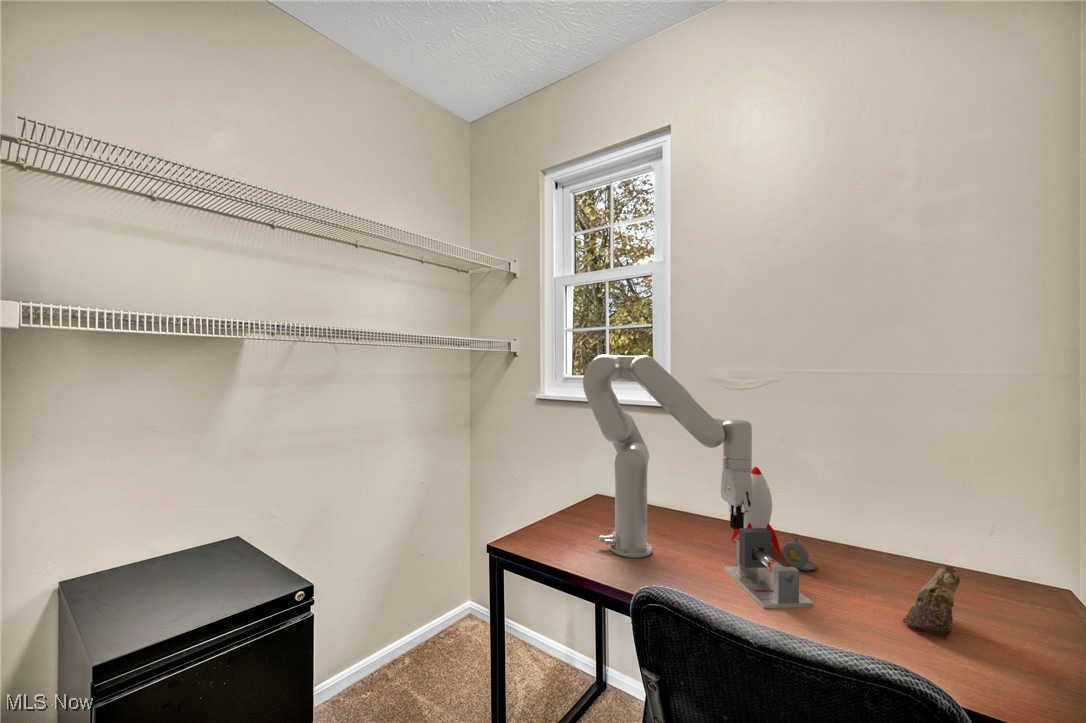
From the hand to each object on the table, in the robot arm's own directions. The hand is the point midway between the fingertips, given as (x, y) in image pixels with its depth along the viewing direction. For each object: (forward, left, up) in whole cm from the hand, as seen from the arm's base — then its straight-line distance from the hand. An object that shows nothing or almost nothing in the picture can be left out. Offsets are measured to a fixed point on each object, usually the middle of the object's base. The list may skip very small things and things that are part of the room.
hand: (736, 528), depth 133 cm
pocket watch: (+16, -4, -10) cm, 19 cm away
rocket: (+11, +10, -10) cm, 18 cm away
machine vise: (0, -15, -10) cm, 18 cm away
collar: (0, -10, -6) cm, 12 cm away
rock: (+26, -34, -10) cm, 44 cm away
